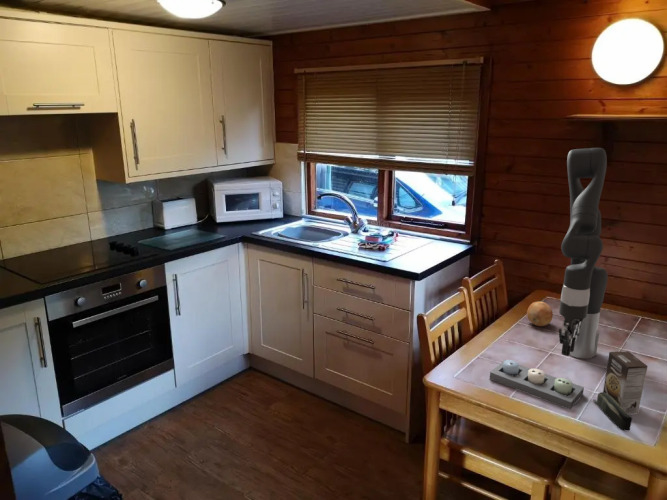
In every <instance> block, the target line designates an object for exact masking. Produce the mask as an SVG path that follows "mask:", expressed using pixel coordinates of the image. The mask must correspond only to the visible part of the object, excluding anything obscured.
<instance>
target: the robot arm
mask: <svg viewBox="0 0 667 500" xmlns="http://www.w3.org/2000/svg"><path fill="white" fill-rule="evenodd" d="M607 158H608V157H607V153H606V150H605V149H604V148H603V147H602V148H601V147H589V148H588V147H587V148H576V149H571V150H569V152H568V154H567V160H566V166H567V167H566V168H567V179H568V187H569V200H570V201H569V205H570V206H569V208H570V209H569V211H570V212H569V213H570V214H569V217H570V219H569V222H570V223H569V227H568V230H567V231H566V234H565V236H564V238H563V240H562V242H561V246H560V247H561V248H560V249H561V250H560V251H561V252H562V254H563V256H564V257H566V258H569V259H570V265H567V266H566V268H565V270H564V271H565V272H564V279H563V285H562V289H561V295H560V302H559V308H558V309H559V310H558V312H559V315H561V317H563V318H564V319H563V320H562V325H561V326H562V328H559V329H558V335H559V336H558V338H559V344H562V347H561V355H562V356H565V357H569V356H571V357H574V358H577V359H583V360H584V359H587V360H588V359H591V358H593V357H597V352H598V346H599V340H600V333H601V332H600V331H599V330H598V328H599V322H600V315H601V308H602V306H603V303H604V298H605V295H606V294H605V292H606V288H607V285H608V278H609V276H608V271H607V270H606V269H605V268H603V267H599V266H596V264H597V262H598V261H599V259H600V256H601V254H602V251H603V250H604V249H603V248H604V243H603V242H604V241H603V240H602V238H601V237H600V236H601V234H602V214H601V211H600V209H599V204H600V199H601V195H602V191H603V187H604V183H605V177H606V174H607V165H608V161H607ZM581 179H591V181H590V183H588V185H587V187H586V188H584V187H583V185H582V183H581Z"/></svg>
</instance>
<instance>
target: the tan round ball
mask: <svg viewBox="0 0 667 500" xmlns="http://www.w3.org/2000/svg"><path fill="white" fill-rule="evenodd" d="M526 316H527V319H528V322H530V323H531V324H533V325H535V326H537V327H545V326H547V325H549V324H550V323H551V322H552V321H553V318H554V313H553V310H552V308H551V306H550V305H549V304H547V303H546V302H544V301H534V302H532V303H531V304H530V305H529V306H528V309H527V310H526Z"/></svg>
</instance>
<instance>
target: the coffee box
mask: <svg viewBox="0 0 667 500" xmlns="http://www.w3.org/2000/svg"><path fill="white" fill-rule="evenodd" d="M647 371H648V365H647V364H646V363H644V362H643V361H641V360H640V359H639V358H638V357H637V356H635V355H634V354H633V353H631V352H630V351H628V350H626V351H619V350H617V351H609V352H608V360H607V365H606V370H605V377H604V383H603V389H602V390H603V391H602V392H605V393H606V394H608V395H610V396H611V397H612V398H613V399H614V400H615V401H616V402H617V404H618V405H619V406H620V407H621V408H622V409H623V410H624V411H625V412H626V413H627V414H628V415H637V414H639V411H640V405H641V400H642V395H643V390H644V387H645V386H644V385H645V381H646V376H647Z"/></svg>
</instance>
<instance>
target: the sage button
mask: <svg viewBox="0 0 667 500" xmlns="http://www.w3.org/2000/svg"><path fill="white" fill-rule="evenodd" d="M556 378H557V379H555V383H554V391H555V392H558V393H560V394H563V395H566V396H570V395H571V391H572V383H573V382H572V381H571V380H570V379H567V378H564V377H556Z"/></svg>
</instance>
